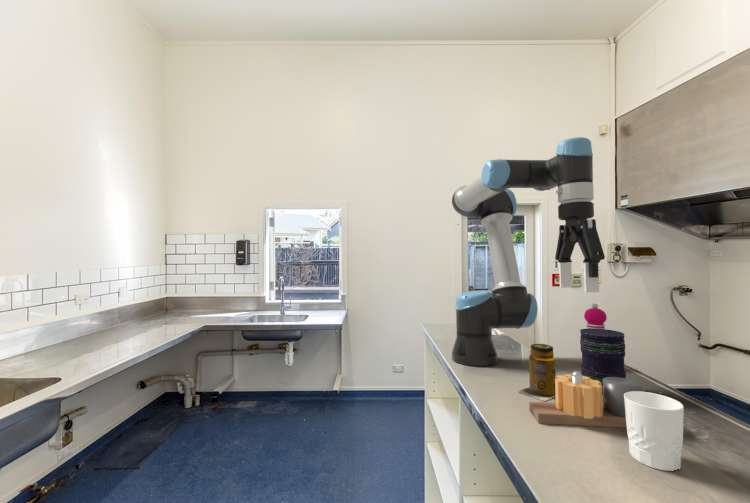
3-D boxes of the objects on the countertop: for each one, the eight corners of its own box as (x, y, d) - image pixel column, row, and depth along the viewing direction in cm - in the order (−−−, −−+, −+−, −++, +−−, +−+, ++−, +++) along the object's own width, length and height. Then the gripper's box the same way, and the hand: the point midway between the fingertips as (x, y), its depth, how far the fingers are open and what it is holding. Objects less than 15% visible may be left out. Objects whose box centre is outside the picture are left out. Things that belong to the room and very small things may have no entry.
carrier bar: (529, 410, 76) (529, 401, 76) (635, 415, 73) (635, 406, 74) (538, 423, 70) (538, 413, 70) (654, 429, 68) (654, 418, 68)
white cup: (614, 448, 61) (612, 392, 61) (654, 445, 62) (652, 390, 62) (654, 475, 53) (651, 411, 53) (699, 472, 54) (697, 408, 54)
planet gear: (590, 401, 76) (589, 374, 76) (611, 419, 67) (610, 389, 68) (549, 400, 77) (548, 373, 77) (565, 417, 69) (565, 387, 69)
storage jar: (608, 399, 82) (606, 337, 82) (572, 385, 91) (570, 330, 92) (636, 393, 85) (634, 334, 86) (599, 381, 94) (597, 327, 95)
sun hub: (597, 403, 75) (596, 376, 75) (631, 405, 74) (630, 377, 74) (615, 418, 68) (614, 388, 68) (653, 419, 67) (652, 389, 67)
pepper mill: (584, 362, 112) (582, 301, 113) (610, 365, 108) (608, 302, 108) (582, 367, 106) (580, 303, 107) (610, 372, 102) (608, 305, 103)
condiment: (563, 394, 86) (562, 346, 86) (544, 402, 81) (543, 351, 81) (536, 385, 92) (535, 341, 92) (517, 392, 87) (516, 345, 88)
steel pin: (570, 407, 73) (569, 369, 74) (580, 407, 73) (579, 370, 73) (574, 411, 71) (573, 372, 72) (585, 411, 71) (584, 373, 71)
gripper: (541, 210, 96) (543, 285, 95) (583, 193, 71) (586, 294, 70) (569, 210, 95) (571, 285, 94) (622, 192, 70) (625, 294, 69)
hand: (577, 289), depth 82 cm, fingers open, 13 cm apart
